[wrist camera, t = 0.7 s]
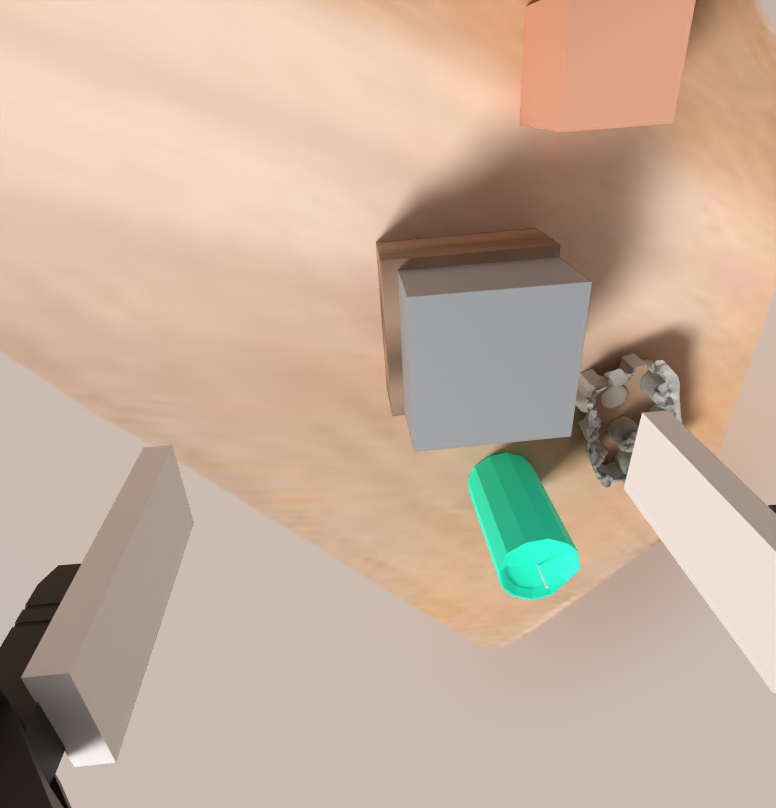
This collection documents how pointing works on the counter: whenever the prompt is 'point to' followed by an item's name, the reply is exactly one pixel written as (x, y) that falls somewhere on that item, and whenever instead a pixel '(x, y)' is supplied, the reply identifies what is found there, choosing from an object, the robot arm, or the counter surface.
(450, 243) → the tower base
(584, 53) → the terracotta block
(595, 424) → the egg carton
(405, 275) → the gray tower middle block
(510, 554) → the candle
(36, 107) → the counter surface
